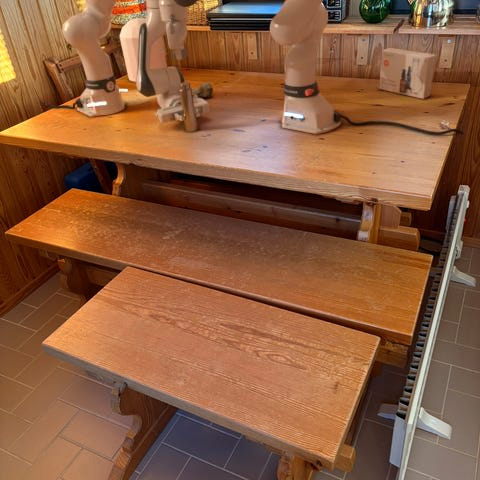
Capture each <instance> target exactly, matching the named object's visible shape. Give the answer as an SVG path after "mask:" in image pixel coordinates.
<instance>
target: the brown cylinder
mask: <svg viewBox="0 0 480 480" xmlns="http://www.w3.org/2000/svg"><path fill="white" fill-rule="evenodd" d="M179 86H180V89H179V92H180V98H181V104H182V110H183V115H184V116H185V121H183V122H184V128H185V131H186V132H191V133H192V132H196V131H197V130H199V127H198V122H197V118H196V114H195V108H194V101H193V94H192V89H193V88H192V87H191V83H190V82H188V81H185V82H183V83H180V85H179Z"/></svg>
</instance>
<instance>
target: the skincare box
mask: <svg viewBox="0 0 480 480" xmlns="http://www.w3.org/2000/svg"><path fill="white" fill-rule="evenodd" d="M436 57H437V54H435V53H427V52H423V51H422V52H420V51H413V50H407V49H400V48H395V47H394V48H393V47H387V48H385V49H382V50H381V61H380V74H379V86H378V87H379V88H378V89H379V90H383V91H387V92H391V93H395V94H399V95H405V96H409V97H414V98H418V99H422V100H424V99H426V98H428V97H430V96H431V91H432V86H433V85H432V84H433V78H434V73H435V72H434V71H435V70H434V69H435V64H436Z"/></svg>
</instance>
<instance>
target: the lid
mask: <svg viewBox="0 0 480 480" xmlns="http://www.w3.org/2000/svg"><path fill="white" fill-rule="evenodd" d="M171 53H172V59H174V60H177V57H176V53H175V51H174V50H172V51H171ZM181 53H182V59H185V58H187V57H188V50H187V49H186V48H184V49H181Z"/></svg>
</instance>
